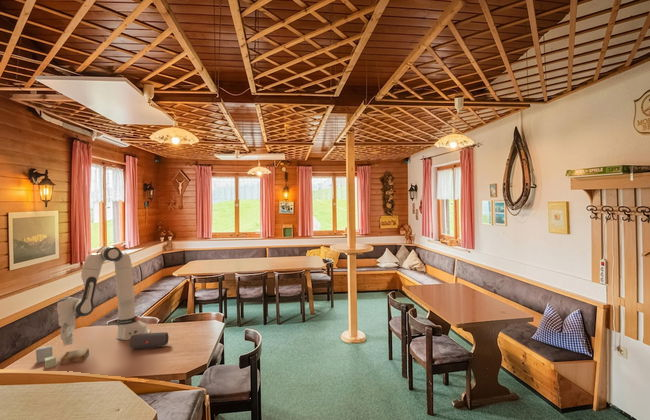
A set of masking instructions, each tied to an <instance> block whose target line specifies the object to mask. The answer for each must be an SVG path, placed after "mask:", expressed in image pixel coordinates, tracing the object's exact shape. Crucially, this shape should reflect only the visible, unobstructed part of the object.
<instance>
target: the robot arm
mask: <svg viewBox="0 0 650 420" xmlns="http://www.w3.org/2000/svg"><path fill="white" fill-rule="evenodd" d="M107 261H109V262H113V264H114V274H115V289H116V290H115V291H116V298H117V334H116V339H118V340H122V341H127V340H130V338H131V336H132V335H137V334H146V333H151V329H150V328H148V327H147V325H146V323H145V322H143V321H141V320H139V315H136V309H135V308H136V307H135V306H136V305H135V299H136V298H135V297H136V296H135V286H134V275H133V266H132V265H133V264H132V260H131V256H130V254H129V253H127V252H122V251H121V250H120V248H119V247H117V246H114V245H104V246H102V247H100V249H98V250H97V252H93V253H89V254H88V255H87V257H86V258H85V261H84V263H83V265H82V269H81V275H80V278H81V280H82V283H83V286H84V287H83V292H82V296H81V298H76V297H73V296H66V297H63V298H60V299H59V300H58V301H57V306H56V307H57V314H58V326H59V327H60V331H59V332H60V334H59V336H60V340H61V341H63V340H64V339H65V342H66V343H69V336H70V335H72V334H73V332H74V330H75V329H76V319H77V316H76V315H78V316H79V317H88V316H89V315H91V314H92V313H93V312H94V310H95V305H94V296H95V291H96V287H97V282H98V281H99V280H98V279H99V277H100V274H101V270H102V268H103V267H102V266H103V264H104V263H105V262H107Z"/></svg>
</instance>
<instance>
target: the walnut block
mask: <svg viewBox="0 0 650 420" xmlns="http://www.w3.org/2000/svg"><path fill="white" fill-rule="evenodd" d="M89 349H90V348H82V349H76V350H70V351H66V352H65V354H63V356H62V358H61V359H60V360H61V361H60V362H61V366H63V365H69V364H75V363H76V364H77V363H81V362H85V361H86V359H87V358H88V355H89V354H90V350H89Z"/></svg>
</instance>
